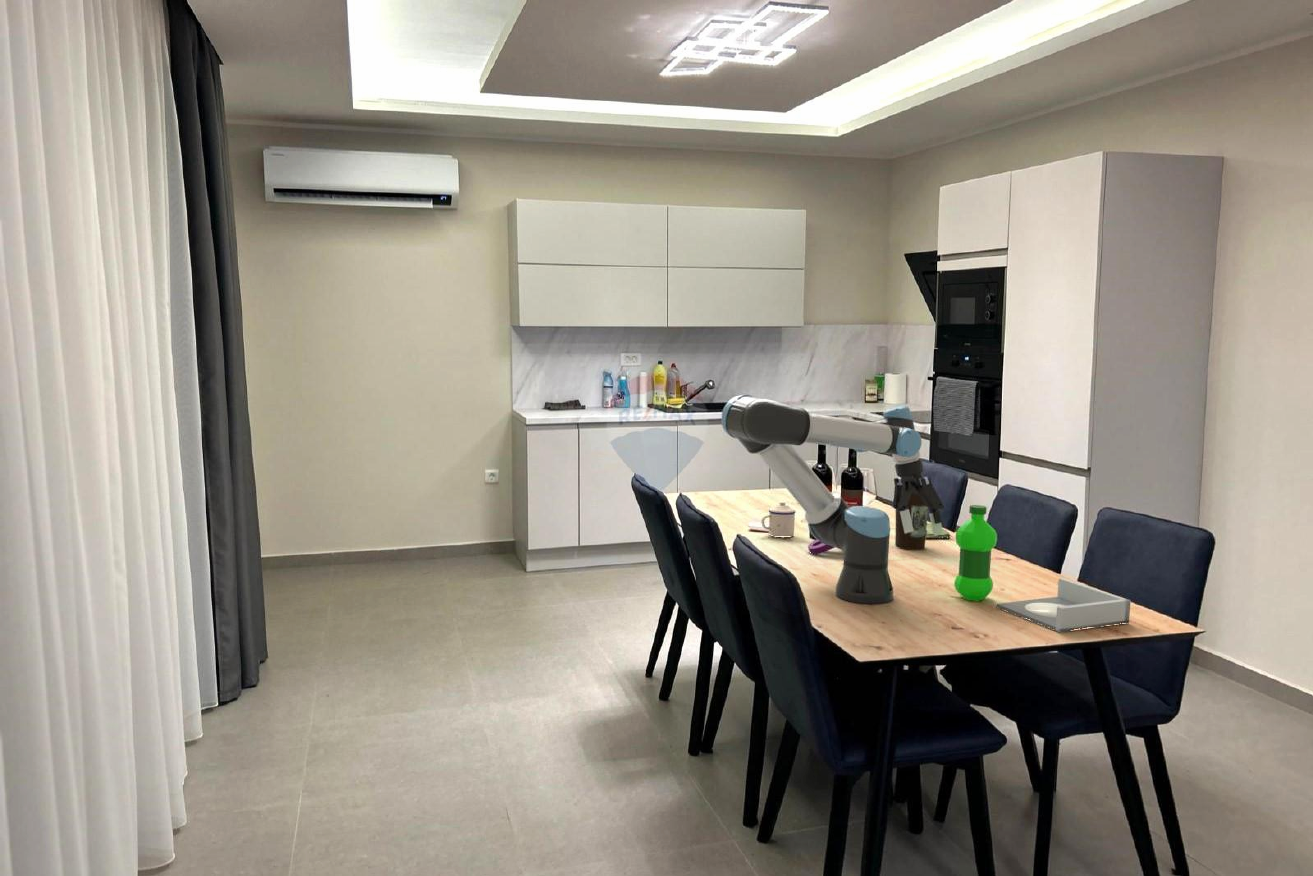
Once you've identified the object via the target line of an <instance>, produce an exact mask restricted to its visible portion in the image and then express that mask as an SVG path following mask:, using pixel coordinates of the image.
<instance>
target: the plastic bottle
mask: <svg viewBox="0 0 1313 876" xmlns="http://www.w3.org/2000/svg"><path fill="white" fill-rule="evenodd" d="M987 508H988V507H987V506H986V505H980V504H978V505H977V504H973V505H972V504H971V505H969V509H968V510H969V511H968V512H969V514H970V515H971V516H970V519H969V520H967V521H966V522H964V523H963V524H962V525H961V526H960V527H958V528H957V530H956V532H955V542H956V544H957V545H958V547H959V561H958V563H959V565H958V574H957V575H956V578H955V580H954V584H953V585H954V588H955V591H956V592H957V593H958V594H959V595H960V596H961V597H962V598H963V600H967V601H970V600H973V601H972V602H980V601H979V600H982V601H983V600H985V598H986V597H988V596H989V595H990V594H991V592H992V590H993V587H994V582H993V579H992V577H991V560H992V550H993V549H995V548H994V547H996V546H997V542H998V534H997V531H996V530H995V529H994V527H993V526H991V524H989V523H988V521H986V520H985V515H987ZM974 600H975V601H974Z"/></svg>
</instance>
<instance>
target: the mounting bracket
mask: <svg viewBox="0 0 1313 876" xmlns="http://www.w3.org/2000/svg"><path fill="white" fill-rule="evenodd" d="M835 548H836V547H833V546H830V545H826V544H824V543H822V542H820V541H819V540H817V539H816V538H815V540H813V541H811V542H810V543H809V544H808V546H807V549H808V551H809V553H810V552H811V553H813V554H816V555H821V554H824V553H827V552H828V551H831V550H832V549H835ZM811 553H810V554H811ZM813 554H812V555H813Z"/></svg>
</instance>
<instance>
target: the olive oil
mask: <svg viewBox="0 0 1313 876" xmlns="http://www.w3.org/2000/svg"><path fill="white" fill-rule="evenodd" d="M897 504H898V503H897ZM907 509H909V512H910V517H911V521H912V526H913V530H914V531H912V532H909V533H904V528H903V524H902V520H901V517H900V512H899V511H898V509H895V537H894V538H895V540H894V541H895V543H894V544H895V545H894V546H897V547H896V548H898V547H899V549H902V548H903V550H909V549H919V550H924V549H925V546H926V539H925V538H926V536H927V530H926V527H927V523H928V516H929V509H928V507H927V506H926V505H925V503H924V502H923V501H922V499H921V498H920V496H919V495H916V493H915V494H914V493H911V496H910V499H909V502H908V505H907ZM905 510H906V509H905Z"/></svg>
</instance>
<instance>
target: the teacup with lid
mask: <svg viewBox="0 0 1313 876" xmlns="http://www.w3.org/2000/svg"><path fill="white" fill-rule="evenodd" d="M768 512H769V514H767V515H764V516H762V518H761V521H760V523H761V526H762V528H763V529H765V530H766V531H767V530H768V534H769V533H770V534H771V535H773V536H793V535H794V536H795V519H796V518H795V516H796V509H794V508H793V507H790V506H789V505H787V504H786V502H785V501H779V503H778V504H777V505H776V504H775V506H773V507H770V508H769V510H768ZM767 518H768V527H767V526H766V525H765V524H766V523H765V520H766V519H767ZM794 536H793V537H794Z"/></svg>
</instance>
